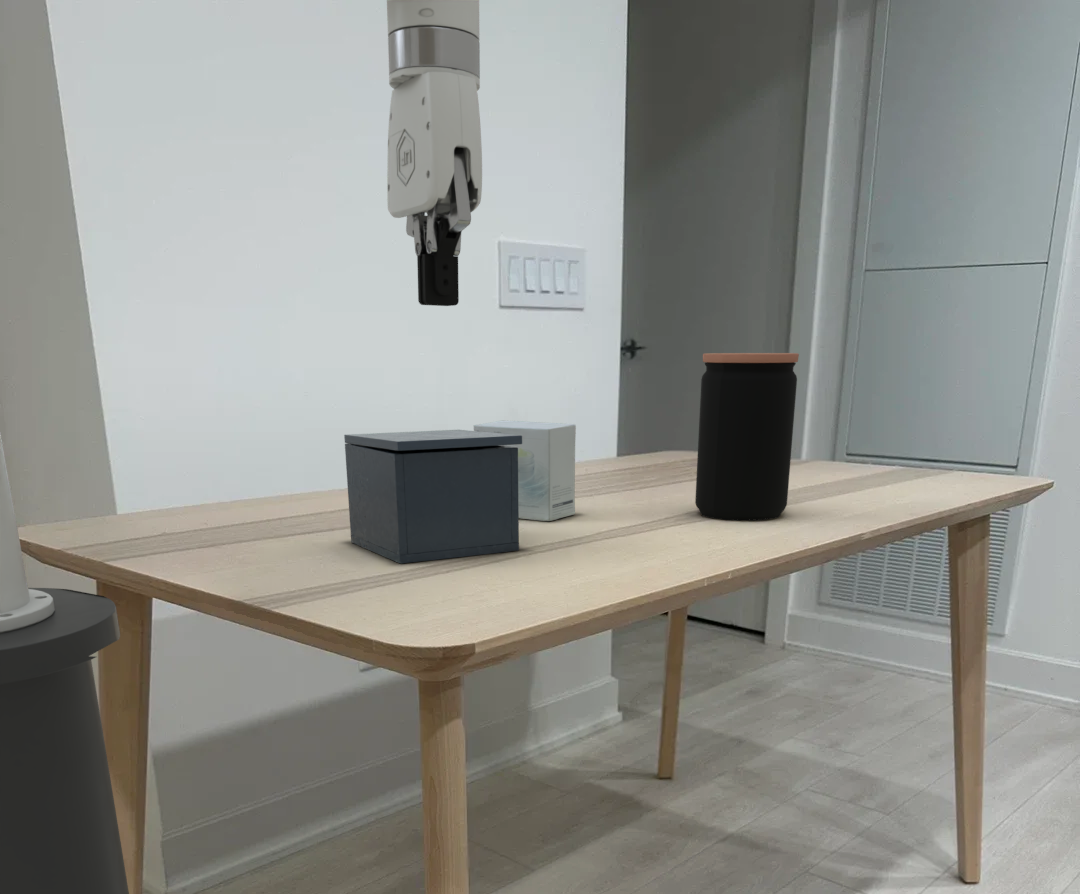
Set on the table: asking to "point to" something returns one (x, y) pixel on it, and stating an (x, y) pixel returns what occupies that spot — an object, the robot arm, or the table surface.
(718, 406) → the coffee jar
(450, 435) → the tin lid
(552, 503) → the cosmetics box
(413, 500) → the tea tin
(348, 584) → the table surface
